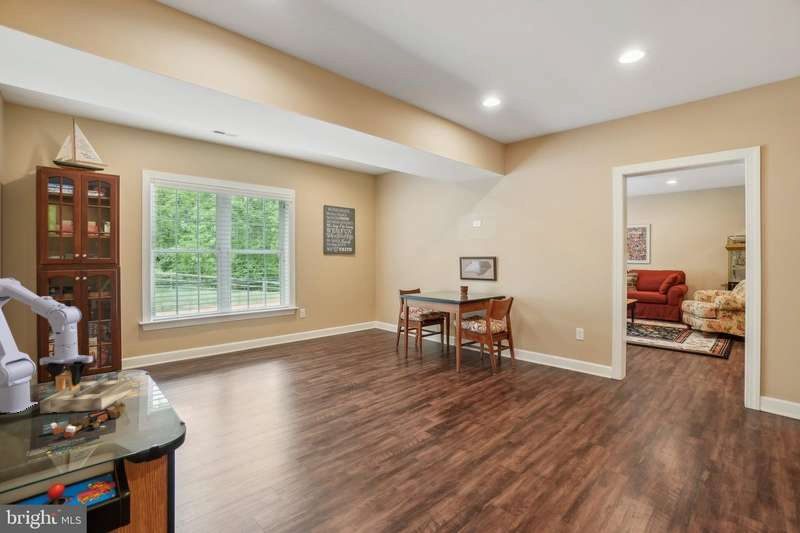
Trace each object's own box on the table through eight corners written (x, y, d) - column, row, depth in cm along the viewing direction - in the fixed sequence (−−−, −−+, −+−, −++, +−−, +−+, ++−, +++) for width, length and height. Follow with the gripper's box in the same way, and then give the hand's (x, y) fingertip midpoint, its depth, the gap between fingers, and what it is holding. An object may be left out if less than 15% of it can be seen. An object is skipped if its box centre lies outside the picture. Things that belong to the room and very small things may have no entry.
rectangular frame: (40, 413, 121) (39, 397, 120) (79, 392, 138) (79, 378, 138) (101, 409, 123) (101, 394, 123) (132, 390, 141) (132, 376, 141)
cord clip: (56, 391, 121) (55, 376, 121) (63, 388, 124) (62, 373, 124) (71, 390, 122) (71, 375, 122) (78, 387, 125) (77, 372, 125)
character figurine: (49, 434, 107) (48, 421, 107) (117, 410, 124) (117, 398, 124) (68, 441, 103) (67, 427, 103) (136, 415, 120) (135, 402, 120)
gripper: (31, 348, 118) (32, 390, 118) (81, 346, 120) (83, 388, 120) (49, 342, 125) (50, 382, 125) (96, 341, 127) (97, 380, 127)
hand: (67, 384), depth 123 cm, fingers closed on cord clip, 5 cm apart
